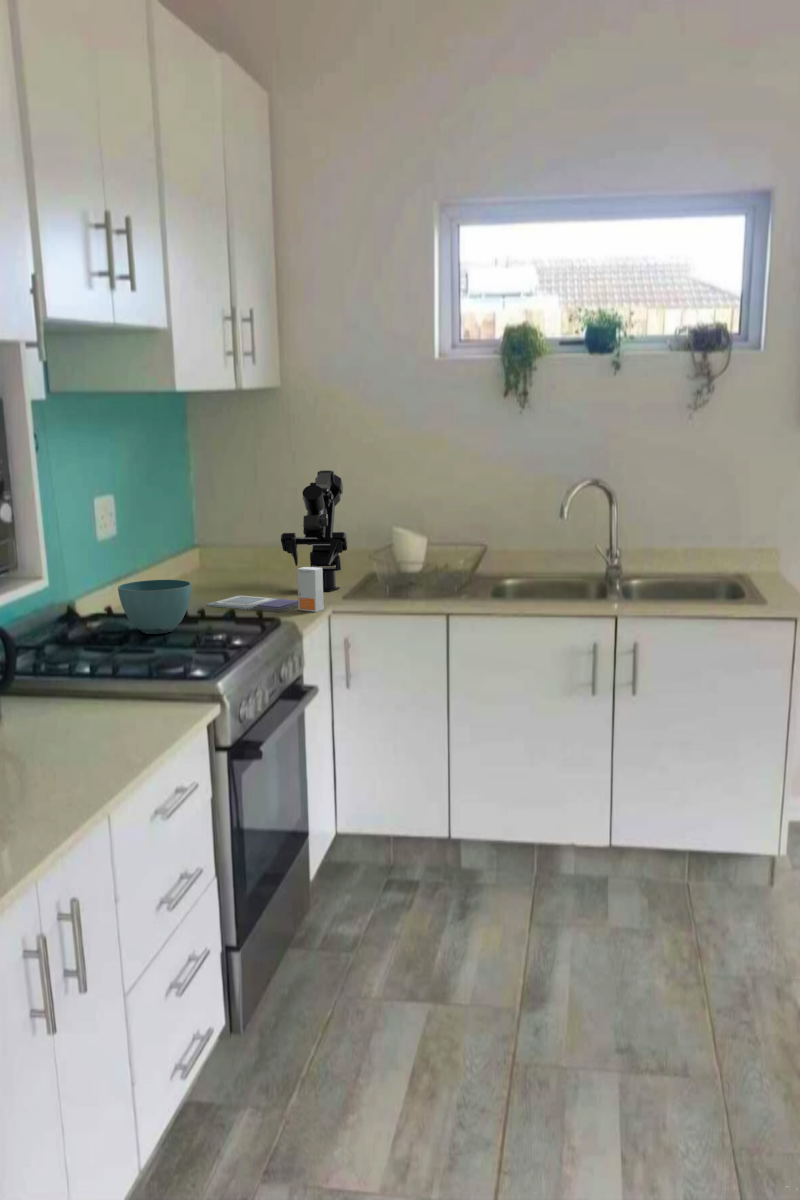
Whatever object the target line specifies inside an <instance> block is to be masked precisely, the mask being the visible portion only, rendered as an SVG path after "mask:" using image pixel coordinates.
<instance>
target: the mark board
mask: <svg viewBox="0 0 800 1200" xmlns="http://www.w3.org/2000/svg"><path fill="white" fill-rule="evenodd" d="M277 599H278V598H271V597H263V596H262V597H261V596H260V597H259V596H252V595H251V596H250V595H249V596H248V595H241V594H240V595H235V596H231V597H227V598H223V599H219V600H217V601H213V602H210V603H209V602H208V603H206V606H207V607H213V606H214V608H224V607H226V608H227V609H235V608H238V609H237V610H246V611H249V610H254V606H257V605H259V604H262V603H266V602H269V601H273V600H277ZM247 609H248V610H247Z"/></svg>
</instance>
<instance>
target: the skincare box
mask: <svg viewBox="0 0 800 1200" xmlns="http://www.w3.org/2000/svg"><path fill="white" fill-rule="evenodd" d="M296 571H297V575H296V576H297V600H298V607H297V608H298V611H303V612H312V613H319V612H321V611H323V610H324V609H325V608H324V591H323V568H318V567H311V566H303V567H299V568H297V569H296Z"/></svg>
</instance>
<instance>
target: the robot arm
mask: <svg viewBox="0 0 800 1200" xmlns="http://www.w3.org/2000/svg"><path fill="white" fill-rule="evenodd" d="M314 479H315V480H314V482H310V483H309V485H307V486H305V487H304V488H303V490H302V500H303V502H304V507H305V510H306V515H303V523H302V527H303V535H304V536H297V535H296V532H283V533H282V534H281V535H280V542H281V546H282V551H284V552H286V553H287V554H291V556H292V558H293V561H294V565H295V567H298V562H299V561H298V559H299V558H298V556H299V553H298V545H308V546H312V549H311V551H310V552H309V562H310V567H318V568H323V592H332V590H333V591H336V590H338V588H341V587H340V586H337V585H336V583H337V582H336V572H339V571H341V570H342V563H341V562H342V561H341V557H340V554H342V553H343V552H346V551H347V550H348V538H347V537H348V536H347V533H346V532H345V531H334V522H335V508H336V506H337V505H338V504H339V502H341V498H342V497H341V496H342V495H343V493H344V485H343V481H342V478H341V477H339V476H338V475H336V474H335V472H334V470H329V469H328V470H327V469H326V470H319V471H317V476H316V477H315V478H314ZM335 589H336V590H335Z"/></svg>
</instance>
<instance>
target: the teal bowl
mask: <svg viewBox="0 0 800 1200" xmlns="http://www.w3.org/2000/svg"><path fill="white" fill-rule="evenodd" d="M191 593H192V582H191V581H187V580H183V579H181V580H180V579H147V580H138V581H131V582H127V583H123V584H120V585H118V586H117V594H118V596H119V601H120V604H121V607H122V609H123V611H124V613H125V615H126V617H127V619H128V620H129V621H130V623H131V624H132V625H133V627H134V628H136V627H137V628H141V629H158V628H159V629H166V628H171V627H174V626H177V625H178V624H179V623H181V622H182V620H183V619H184V616H186V613H187V610H188V608H189V605H190V599H191V596H192V595H191ZM179 625H180V624H179ZM179 625H178V626H179ZM178 626H177V627H178Z"/></svg>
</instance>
